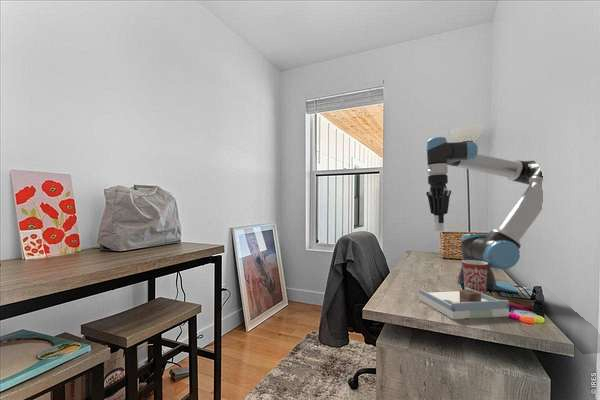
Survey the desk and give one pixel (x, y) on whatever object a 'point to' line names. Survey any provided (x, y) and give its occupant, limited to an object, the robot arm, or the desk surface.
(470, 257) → the robot arm
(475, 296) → the walnut cube
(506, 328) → the desk surface
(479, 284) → the mug
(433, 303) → the tray
